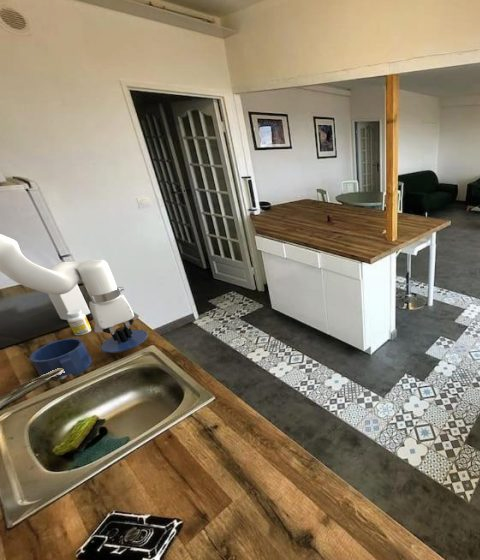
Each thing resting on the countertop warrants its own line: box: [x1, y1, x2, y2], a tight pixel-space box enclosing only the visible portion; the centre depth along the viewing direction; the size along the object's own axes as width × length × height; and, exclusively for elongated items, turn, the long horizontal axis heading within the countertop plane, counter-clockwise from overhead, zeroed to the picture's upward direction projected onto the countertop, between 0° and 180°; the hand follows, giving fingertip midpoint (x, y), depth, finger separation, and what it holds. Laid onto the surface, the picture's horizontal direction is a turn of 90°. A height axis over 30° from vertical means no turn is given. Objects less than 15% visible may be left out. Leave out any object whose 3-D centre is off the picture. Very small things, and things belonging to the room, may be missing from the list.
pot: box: [28, 337, 93, 379], centre depth 105 cm, size 13×18×8 cm
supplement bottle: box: [66, 310, 92, 336], centre depth 125 cm, size 5×5×10 cm
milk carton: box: [47, 284, 91, 321], centre depth 133 cm, size 7×7×19 cm
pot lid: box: [100, 326, 149, 354], centre depth 114 cm, size 14×14×6 cm
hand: (124, 338), depth 114 cm, fingers closed on pot lid, 2 cm apart
